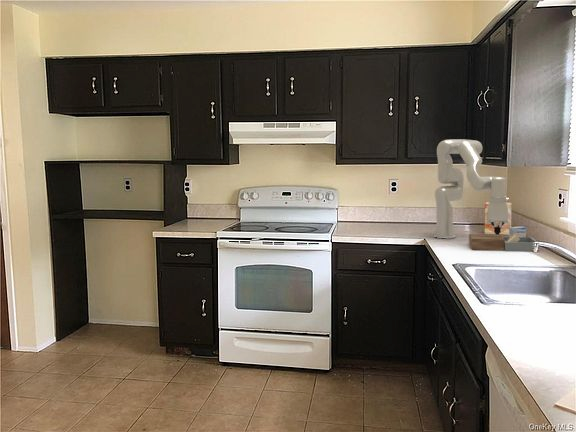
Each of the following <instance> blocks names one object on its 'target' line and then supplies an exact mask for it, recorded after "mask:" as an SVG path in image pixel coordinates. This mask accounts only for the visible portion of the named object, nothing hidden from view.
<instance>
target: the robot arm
mask: <svg viewBox="0 0 576 432" xmlns="http://www.w3.org/2000/svg"><path fill="white" fill-rule="evenodd" d="M482 152H483V145H482V142H480V141H478V140H473V139H464V138H463V139H455V138H454V139H444V140H442V141H440V142H439V143H438V145H437V147H436V158H437V181H438V183H439V184H441V185H440V186H438V187H437V188H436V189H435V191H434V198H435V204H436V205H435V206H436V208H435V209H436V228H435V229H436V230H435V231H436V234H435V233H434V235H433V238H435V237H437V238H436V239H441V238H446V240H448V239H455V238H456V235H455V234H453V229H454V228H453V227H454V225H453V223H454V222H453V219H454V218H453V217H454V213H453V212H454V211H453V210H454V209H453V205H452V203H451V202H455V201H456V202H458V201H460V200H461V199H462V198H463V195H464V183H465V181H464V179H465V177H464V172H463V171H462V169H461V168H459V167H453V159H452V156H451V154H453V155H460V157H461V159H463V163H465V165H466V166H467V169H466V177H467V181H468V182H469V184H470V186H471V187H472V188H473V189H474V190H475V191H478V192H479V191H481V192H482V191H489V192H490V194H489V195H490V196H489V197H490V199H489V200H490V201H489V202H488V203H489V204H488V210H487V223H489V224H492V225H493V226H494V233H495V234H496V235H497V234H498V235H500V234H499V233H501V226H502V225H504V224H507V223H509V222H508V207H507V203H508V202H509V197H507V196H506V194H507V193H506V192H507V180H506V177H505V176H504V177H503V176H491V175H490V176H480V175H479V173H478V172H477V170H476V169H477V168H479V167H480V166H481V165H482V163H483V158H482V157H481V156H480V154H482ZM442 184H445V185H442ZM448 184H451V185H448ZM507 201H508V202H507ZM491 221H493V222H491ZM496 222H499V224H498V227H497V225H496Z"/></svg>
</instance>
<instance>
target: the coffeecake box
mask: <svg viewBox="0 0 576 432" xmlns="http://www.w3.org/2000/svg"><path fill="white" fill-rule="evenodd" d="M489 203H490V202H485V204H484V234H495V233H494V226H493V225H492V224H489V223H487V210H488V204H489ZM506 203H507V207H508V222H509V223H507V224H504V225H502V226H501V233H499V235H505V236H506V235H507V236H509V227H512V204H513V203H512V202H506ZM491 222H493V221H491ZM498 224H499V222H496V225H497V227H498Z"/></svg>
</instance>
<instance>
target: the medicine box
mask: <svg viewBox="0 0 576 432" xmlns="http://www.w3.org/2000/svg"><path fill="white" fill-rule="evenodd" d="M513 234H515V235H516V236H517V237H527V227H526V226H511V227H509V235H508V237H511V236H512V235H513Z"/></svg>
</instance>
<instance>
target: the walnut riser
mask: <svg viewBox="0 0 576 432" xmlns="http://www.w3.org/2000/svg"><path fill="white" fill-rule="evenodd" d="M503 237H504V236H502V234H499V235H498V234H497V235H496V234H485V233H484V234H481V233H479V234H475V233H473V234H472V233H469V235H468V246H469V248H470V249H471V250H472V251H502V252H504V251H505V250H504V248H505V239H504V238H503Z"/></svg>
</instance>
